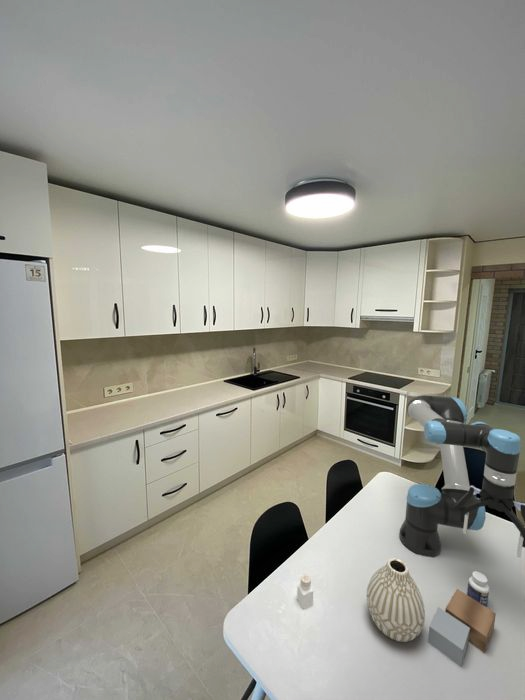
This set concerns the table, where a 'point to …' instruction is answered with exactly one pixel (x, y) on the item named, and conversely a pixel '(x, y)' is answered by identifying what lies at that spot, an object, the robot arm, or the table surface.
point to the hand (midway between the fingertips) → (490, 542)
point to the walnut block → (473, 618)
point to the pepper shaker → (305, 592)
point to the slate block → (449, 635)
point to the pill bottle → (478, 588)
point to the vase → (395, 602)
